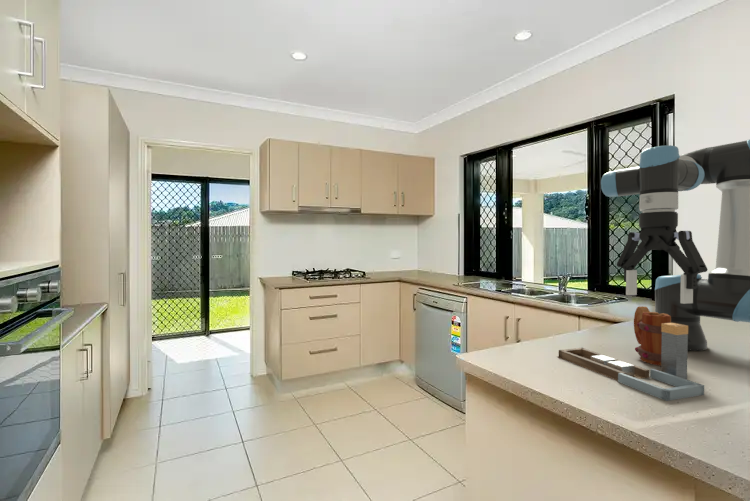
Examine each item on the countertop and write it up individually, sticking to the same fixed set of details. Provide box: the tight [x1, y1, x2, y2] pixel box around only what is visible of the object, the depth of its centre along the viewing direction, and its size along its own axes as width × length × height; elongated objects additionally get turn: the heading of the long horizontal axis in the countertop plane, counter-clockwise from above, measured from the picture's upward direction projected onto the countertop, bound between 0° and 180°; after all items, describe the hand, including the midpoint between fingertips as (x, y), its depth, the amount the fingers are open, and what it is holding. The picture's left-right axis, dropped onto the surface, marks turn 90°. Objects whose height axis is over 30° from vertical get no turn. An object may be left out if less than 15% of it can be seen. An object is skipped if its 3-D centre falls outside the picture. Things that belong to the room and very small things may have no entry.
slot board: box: [556, 347, 651, 382], centre depth 99 cm, size 10×20×3 cm, turn 16°
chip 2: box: [607, 359, 636, 376], centre depth 93 cm, size 4×4×2 cm
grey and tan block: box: [660, 323, 688, 380], centre depth 90 cm, size 4×4×14 cm
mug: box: [633, 306, 671, 367], centre depth 105 cm, size 15×8×15 cm, turn 168°
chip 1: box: [591, 354, 617, 366], centre depth 98 cm, size 4×4×2 cm
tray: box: [617, 368, 705, 402], centre depth 84 cm, size 11×11×3 cm
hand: (656, 299), depth 91 cm, fingers open, 13 cm apart
